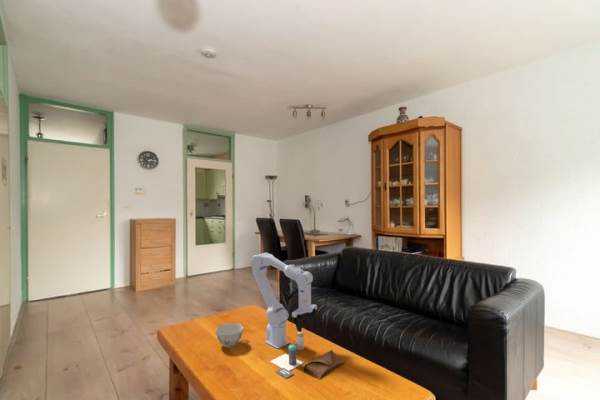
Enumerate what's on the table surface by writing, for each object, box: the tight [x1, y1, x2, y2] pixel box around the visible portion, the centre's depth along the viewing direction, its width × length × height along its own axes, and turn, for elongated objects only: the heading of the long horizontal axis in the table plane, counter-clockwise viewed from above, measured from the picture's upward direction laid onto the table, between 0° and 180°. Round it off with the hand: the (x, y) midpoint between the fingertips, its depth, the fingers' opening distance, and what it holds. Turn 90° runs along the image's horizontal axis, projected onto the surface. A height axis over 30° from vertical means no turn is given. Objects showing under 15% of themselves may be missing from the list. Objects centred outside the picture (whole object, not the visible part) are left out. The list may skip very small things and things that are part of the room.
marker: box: [288, 343, 298, 365], centre depth 124 cm, size 3×3×7 cm
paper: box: [269, 353, 304, 372], centre depth 125 cm, size 11×9×1 cm
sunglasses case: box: [303, 349, 346, 380], centre depth 122 cm, size 18×7×7 cm
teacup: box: [215, 322, 244, 349], centre depth 142 cm, size 15×12×8 cm
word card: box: [275, 368, 294, 380], centre depth 117 cm, size 6×4×1 cm, turn 45°
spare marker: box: [296, 331, 305, 351], centre depth 138 cm, size 3×3×7 cm
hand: (305, 328), depth 136 cm, fingers open, 7 cm apart
